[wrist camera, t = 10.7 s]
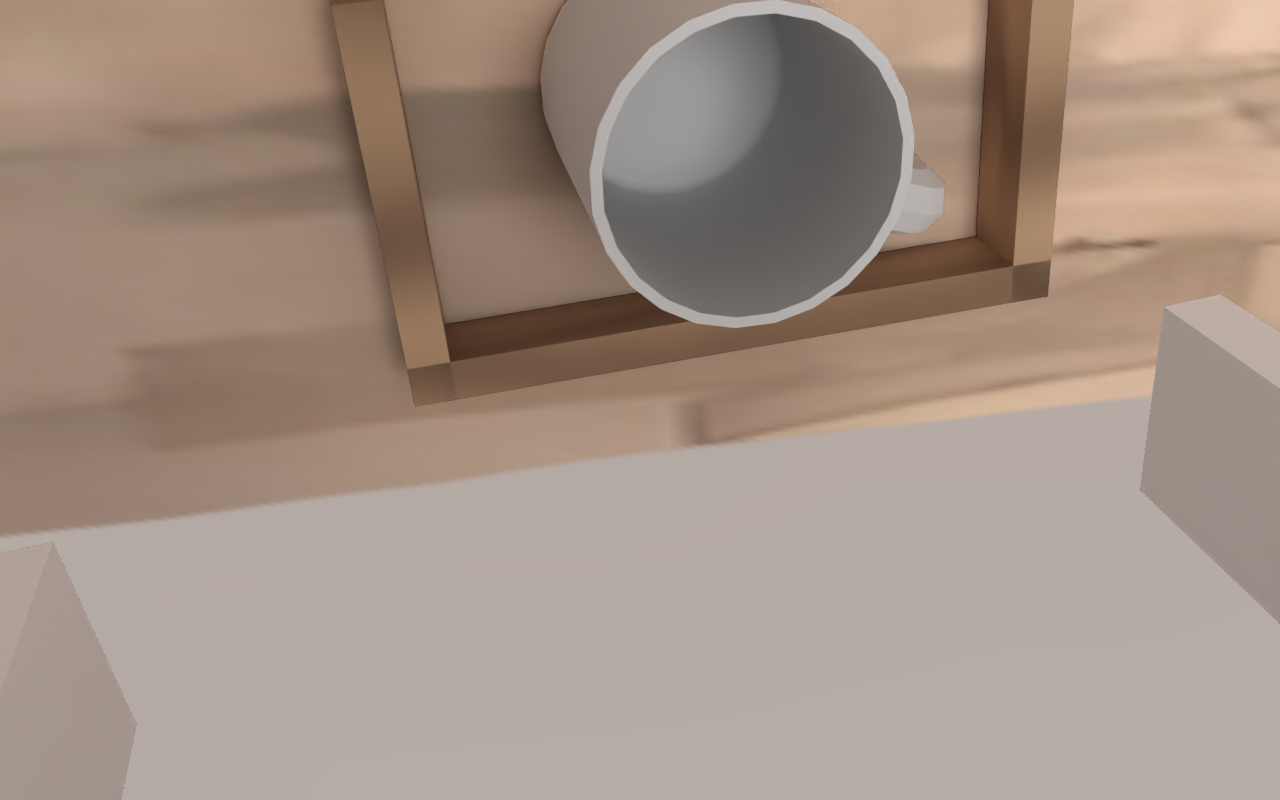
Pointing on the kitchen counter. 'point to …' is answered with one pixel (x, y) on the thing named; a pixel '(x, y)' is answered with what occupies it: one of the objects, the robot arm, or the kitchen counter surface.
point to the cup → (733, 150)
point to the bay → (646, 335)
